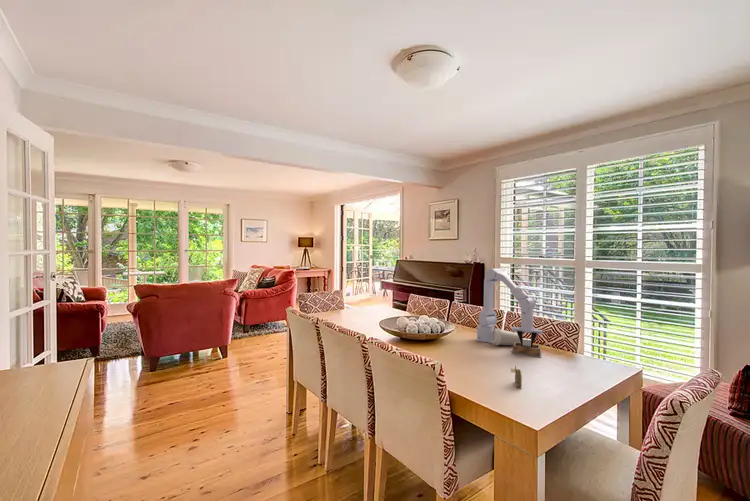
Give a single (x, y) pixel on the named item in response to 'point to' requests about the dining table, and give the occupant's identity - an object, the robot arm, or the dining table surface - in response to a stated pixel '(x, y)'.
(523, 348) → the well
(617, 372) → the dining table surface
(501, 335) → the coffee cup
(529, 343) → the brushed aluminum block
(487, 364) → the dining table surface
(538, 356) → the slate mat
